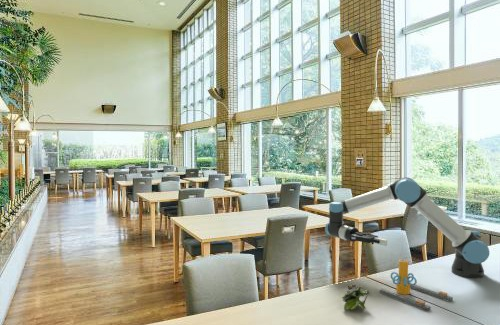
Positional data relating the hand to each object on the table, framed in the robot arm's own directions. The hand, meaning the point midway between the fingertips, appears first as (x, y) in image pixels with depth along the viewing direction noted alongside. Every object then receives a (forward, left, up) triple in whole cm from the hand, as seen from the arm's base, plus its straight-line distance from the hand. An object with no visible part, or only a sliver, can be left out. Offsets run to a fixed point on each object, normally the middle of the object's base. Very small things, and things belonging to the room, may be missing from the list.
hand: (386, 242), depth 180 cm
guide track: (-13, +11, -21) cm, 27 cm away
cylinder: (-7, +6, -22) cm, 24 cm away
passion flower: (+13, +30, -22) cm, 39 cm away
